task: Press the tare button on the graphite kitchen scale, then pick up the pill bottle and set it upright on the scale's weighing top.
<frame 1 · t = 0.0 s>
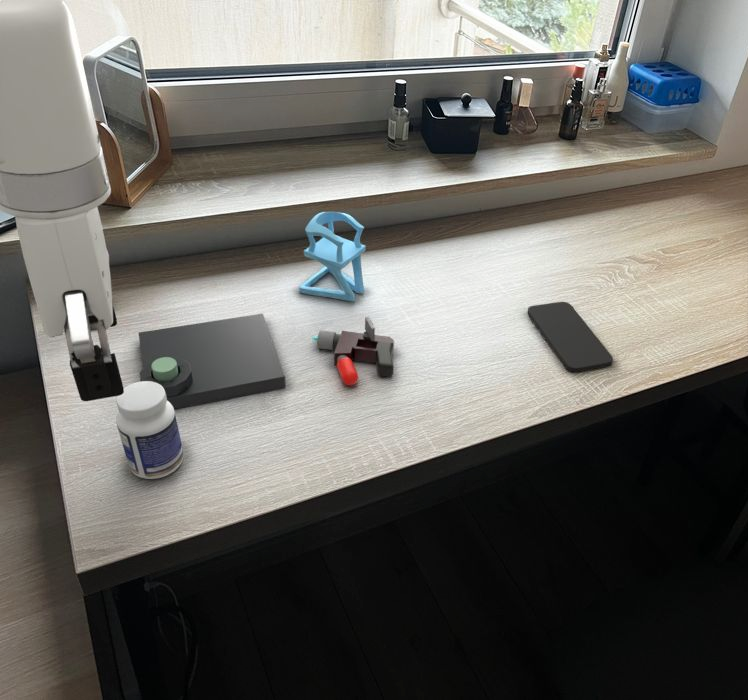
hand: (100, 359, 62), 20 cm above the table, tool pointing down, fingers open, 9 cm apart
chair: (336, 289, 110), on the table
toy gun: (350, 366, 96), on the table
scale: (211, 365, 94), on the table
pill bottle: (157, 462, 80), on the table
lightbulb: (96, 308, 101), on the table
phone: (567, 338, 106), on the table
tare button: (165, 369, 86), point 4 cm above the table, slide at 0.1 cm
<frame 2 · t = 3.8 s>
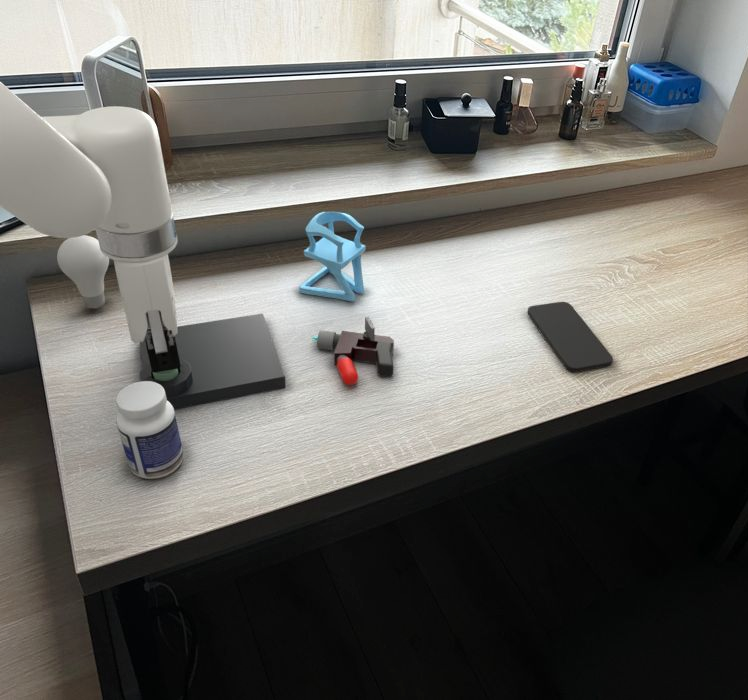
hand: (166, 366, 86), 4 cm above the table, tool pointing down, fingers closed
tare button: (165, 372, 87), point 3 cm above the table, slide at -0.3 cm, touching gripper
everything else where it was.
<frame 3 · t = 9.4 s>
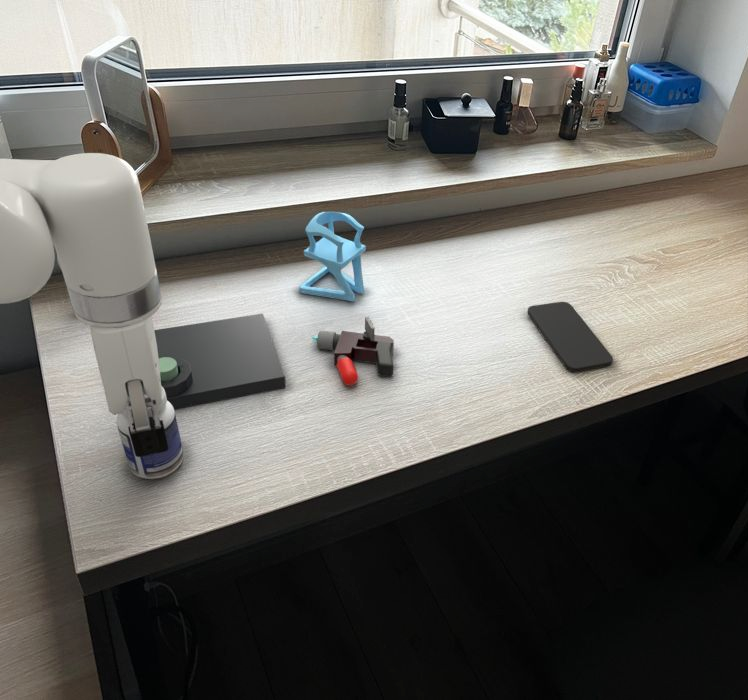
hand: (149, 429, 77), 5 cm above the table, tool pointing down, fingers closed on pill bottle, 5 cm apart
pill bottle: (157, 462, 80), on the table, touching gripper
tare button: (165, 369, 86), point 4 cm above the table, slide at 0.1 cm
everything else where it was.
when the fingers open (7 cm above the table, at t = 16.5 s): pill bottle stays where it is, resting on scale.
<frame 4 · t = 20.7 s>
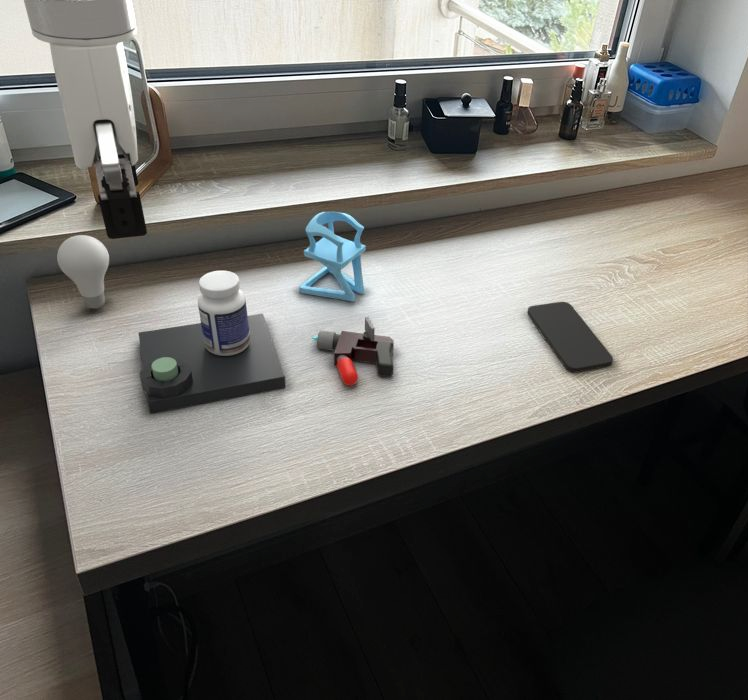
hand: (124, 209, 67), 28 cm above the table, tool pointing down, fingers open, 9 cm apart
pill bottle: (227, 345, 94), point 2 cm above the table, touching scale
everything else where it was.
at the end: tare button pushed in 0.9 cm at the most during the clip, back to where it started at the end; pill bottle inside the target area on the scale (1.7 cm from its centre), point 1.7 cm above the scale's base; pill bottle tilted 0° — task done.
